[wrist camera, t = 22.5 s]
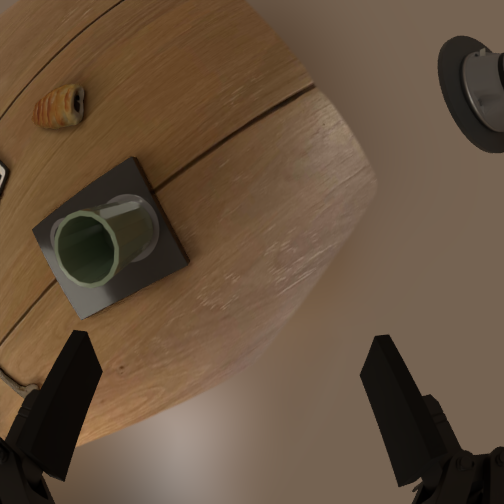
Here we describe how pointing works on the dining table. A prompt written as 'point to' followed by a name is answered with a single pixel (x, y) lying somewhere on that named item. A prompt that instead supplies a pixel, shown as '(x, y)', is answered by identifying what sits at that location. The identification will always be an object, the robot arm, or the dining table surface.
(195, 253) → the dining table surface
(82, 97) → the pastry
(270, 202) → the dining table surface
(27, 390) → the jawbone
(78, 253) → the cup
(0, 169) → the cell phone
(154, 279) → the hob
